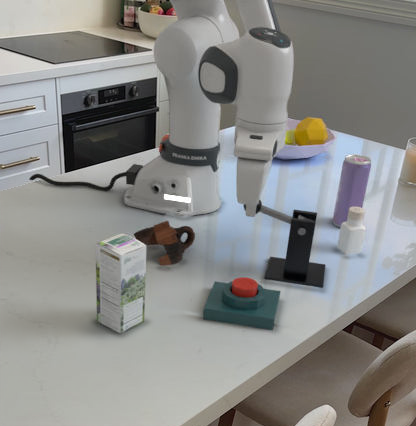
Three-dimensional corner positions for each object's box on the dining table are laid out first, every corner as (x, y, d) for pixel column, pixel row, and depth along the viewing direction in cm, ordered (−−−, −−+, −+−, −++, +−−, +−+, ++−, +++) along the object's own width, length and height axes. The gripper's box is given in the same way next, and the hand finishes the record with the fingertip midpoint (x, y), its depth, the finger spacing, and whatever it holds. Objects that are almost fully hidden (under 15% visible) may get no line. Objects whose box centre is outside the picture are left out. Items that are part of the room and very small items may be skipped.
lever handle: (239, 213, 122) (245, 196, 120) (242, 206, 125) (248, 190, 123) (305, 239, 123) (313, 223, 121) (307, 232, 126) (314, 216, 124)
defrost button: (229, 296, 114) (230, 287, 113) (233, 284, 117) (234, 275, 116) (255, 300, 113) (256, 291, 112) (258, 288, 117) (259, 279, 116)
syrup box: (121, 309, 115) (120, 231, 106) (145, 322, 112) (147, 242, 104) (96, 321, 111) (93, 241, 103) (121, 335, 108) (120, 254, 100)
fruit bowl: (284, 133, 207) (289, 94, 200) (351, 158, 190) (359, 117, 184) (215, 146, 191) (218, 105, 185) (281, 175, 175) (287, 131, 169)
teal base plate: (203, 319, 114) (204, 298, 112) (213, 291, 122) (215, 272, 120) (272, 330, 113) (275, 309, 110) (278, 301, 121) (281, 282, 118)
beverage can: (358, 231, 149) (372, 164, 140) (331, 227, 150) (343, 161, 141) (358, 221, 154) (372, 156, 145) (332, 217, 154) (344, 152, 146)
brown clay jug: (149, 275, 127) (133, 233, 125) (140, 274, 136) (125, 235, 134) (206, 253, 129) (192, 211, 127) (194, 253, 138) (180, 214, 136)
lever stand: (264, 282, 126) (272, 221, 119) (269, 261, 134) (277, 203, 126) (322, 291, 125) (333, 229, 118) (324, 269, 132) (335, 210, 125)
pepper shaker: (335, 249, 140) (343, 206, 135) (351, 247, 142) (360, 204, 136) (344, 257, 137) (353, 214, 132) (361, 255, 139) (371, 212, 133)
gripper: (250, 116, 124) (243, 189, 132) (232, 149, 108) (226, 229, 116) (284, 120, 123) (275, 193, 131) (271, 154, 107) (262, 234, 115)
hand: (252, 210), depth 123 cm, fingers closed on lever handle, 3 cm apart
